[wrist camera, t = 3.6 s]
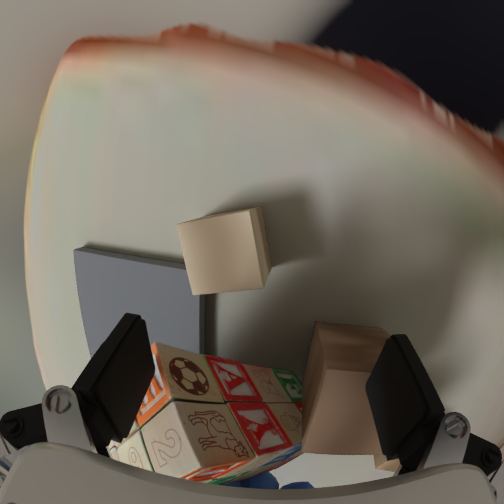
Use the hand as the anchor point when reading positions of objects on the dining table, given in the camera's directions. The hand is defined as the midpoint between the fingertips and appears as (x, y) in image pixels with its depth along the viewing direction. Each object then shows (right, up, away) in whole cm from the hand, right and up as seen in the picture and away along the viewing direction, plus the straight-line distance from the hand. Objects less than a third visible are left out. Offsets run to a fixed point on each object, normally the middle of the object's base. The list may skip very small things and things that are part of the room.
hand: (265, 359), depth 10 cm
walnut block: (+6, -4, +8) cm, 11 cm away
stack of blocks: (-3, -15, +9) cm, 17 cm away
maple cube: (-2, +5, +8) cm, 10 cm away
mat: (-10, -2, +11) cm, 15 cm away
